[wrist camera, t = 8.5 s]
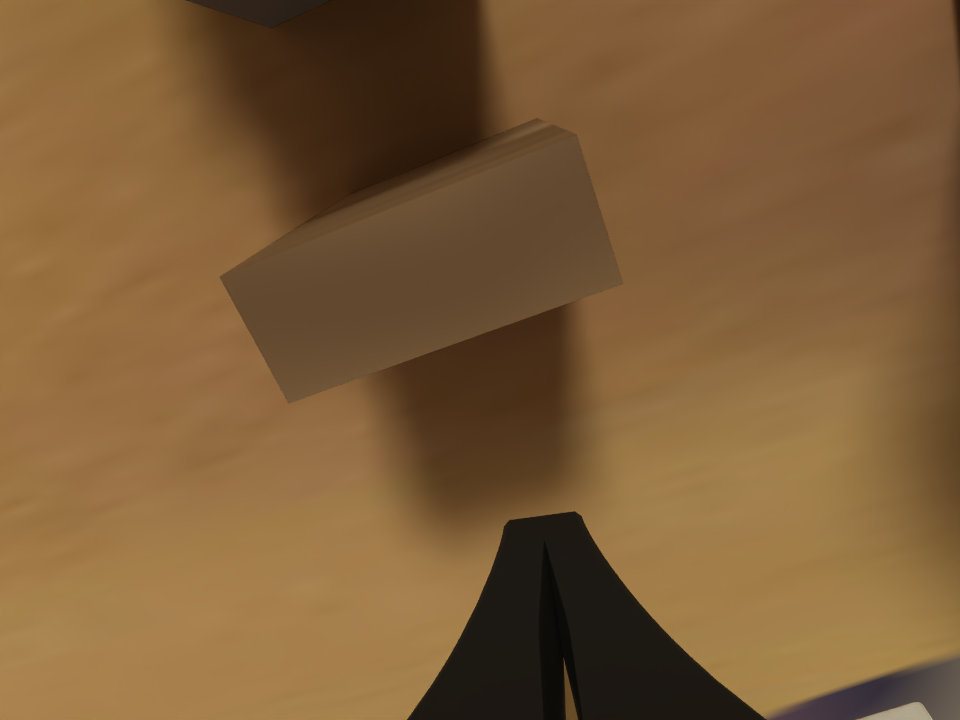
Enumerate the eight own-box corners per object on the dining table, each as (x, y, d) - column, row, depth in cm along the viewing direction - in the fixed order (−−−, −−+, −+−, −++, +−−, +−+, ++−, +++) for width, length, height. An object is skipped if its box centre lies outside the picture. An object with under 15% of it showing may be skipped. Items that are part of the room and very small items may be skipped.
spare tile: (563, 198, 16) (623, 283, 9) (380, 269, 17) (288, 403, 9) (536, 118, 15) (576, 134, 8) (346, 195, 16) (219, 277, 9)
